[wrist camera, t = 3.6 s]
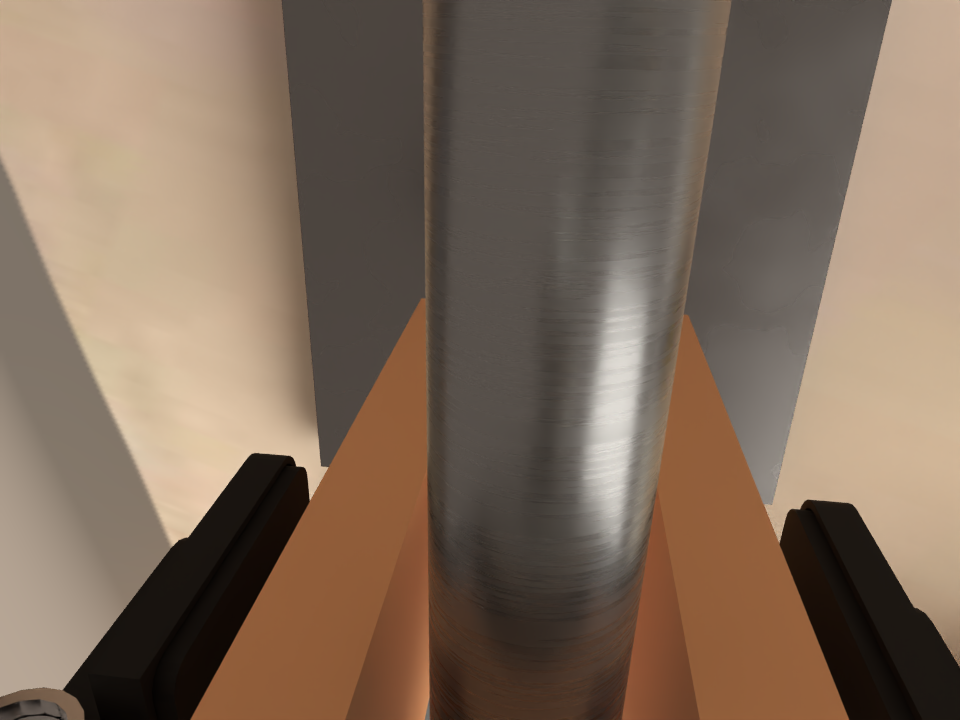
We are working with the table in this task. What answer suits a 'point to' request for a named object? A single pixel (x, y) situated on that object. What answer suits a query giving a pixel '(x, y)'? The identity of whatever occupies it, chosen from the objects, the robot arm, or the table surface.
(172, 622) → the robot arm
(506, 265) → the hanger stand
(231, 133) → the table surface
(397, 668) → the hook link
